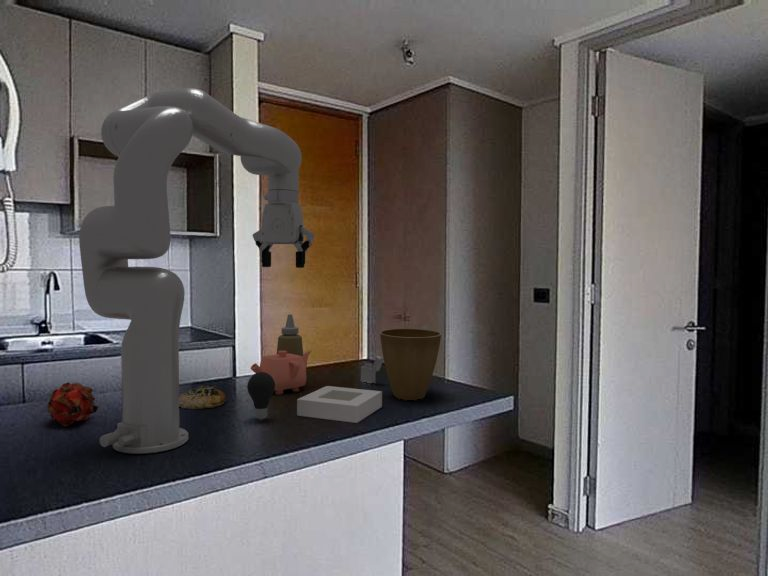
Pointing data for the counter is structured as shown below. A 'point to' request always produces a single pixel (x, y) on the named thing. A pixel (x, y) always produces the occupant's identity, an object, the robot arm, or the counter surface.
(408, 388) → the plant pot
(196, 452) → the counter surface
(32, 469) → the counter surface
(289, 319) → the squeeze bottle
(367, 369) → the lighter
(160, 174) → the robot arm
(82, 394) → the dragon fruit
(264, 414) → the light bulb
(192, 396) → the bread roll
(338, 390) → the socket block
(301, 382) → the teapot
